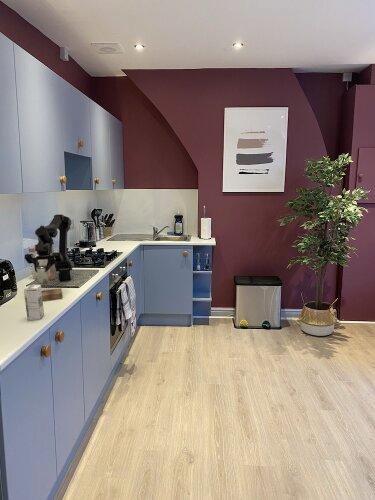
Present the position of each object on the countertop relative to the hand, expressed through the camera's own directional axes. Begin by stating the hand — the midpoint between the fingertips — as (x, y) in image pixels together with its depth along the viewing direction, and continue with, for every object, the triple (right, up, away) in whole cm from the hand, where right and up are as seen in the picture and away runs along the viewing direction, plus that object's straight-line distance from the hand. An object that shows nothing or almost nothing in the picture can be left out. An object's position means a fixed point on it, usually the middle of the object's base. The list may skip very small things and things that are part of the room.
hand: (41, 271), depth 196 cm
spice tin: (0, -6, +3) cm, 7 cm away
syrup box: (+8, -19, -27) cm, 34 cm away
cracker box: (-14, -7, +43) cm, 45 cm away
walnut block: (+5, -14, +2) cm, 15 cm away
